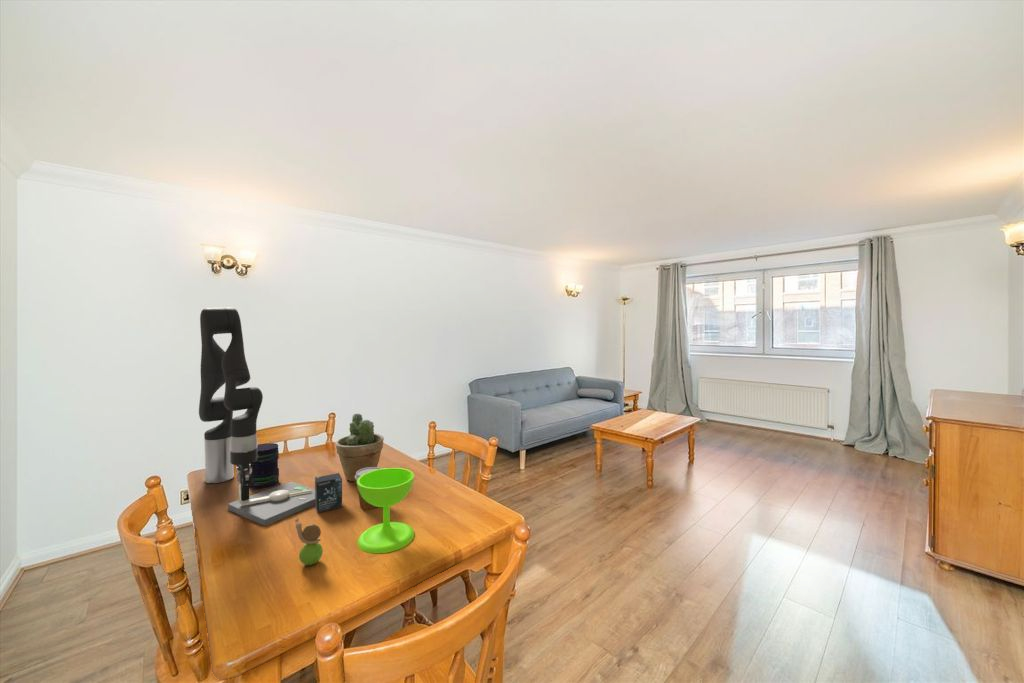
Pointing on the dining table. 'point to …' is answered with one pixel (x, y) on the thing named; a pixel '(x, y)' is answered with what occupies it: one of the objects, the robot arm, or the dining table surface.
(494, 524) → the dining table surface
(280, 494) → the tuning crank
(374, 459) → the potted plant
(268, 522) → the dial board
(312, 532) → the snail figurine
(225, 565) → the dining table surface
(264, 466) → the storage jar
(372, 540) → the wineglass
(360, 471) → the disposable coffee cup
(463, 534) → the dining table surface
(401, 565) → the dining table surface
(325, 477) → the box
